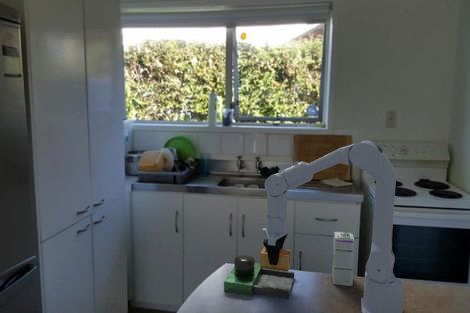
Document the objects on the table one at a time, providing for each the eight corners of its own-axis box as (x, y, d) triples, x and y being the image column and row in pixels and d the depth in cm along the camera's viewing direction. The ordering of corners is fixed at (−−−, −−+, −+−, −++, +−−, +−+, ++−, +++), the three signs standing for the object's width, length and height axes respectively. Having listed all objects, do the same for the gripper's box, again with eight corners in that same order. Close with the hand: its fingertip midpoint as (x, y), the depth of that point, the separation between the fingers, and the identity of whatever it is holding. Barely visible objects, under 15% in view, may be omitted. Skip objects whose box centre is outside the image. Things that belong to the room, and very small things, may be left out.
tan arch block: (290, 264, 112) (290, 249, 111) (288, 271, 107) (288, 256, 107) (263, 261, 114) (264, 246, 113) (260, 268, 109) (260, 253, 109)
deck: (294, 277, 117) (295, 255, 116) (287, 301, 102) (288, 276, 102) (237, 269, 122) (238, 248, 121) (223, 291, 107) (224, 267, 106)
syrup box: (352, 286, 112) (355, 238, 110) (332, 284, 113) (334, 237, 111) (351, 278, 117) (353, 232, 115) (331, 276, 118) (333, 231, 116)
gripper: (267, 207, 117) (266, 250, 118) (257, 221, 103) (256, 269, 105) (290, 209, 115) (289, 252, 117) (283, 223, 101) (281, 272, 103)
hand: (275, 260), depth 110 cm, fingers closed on tan arch block, 5 cm apart
